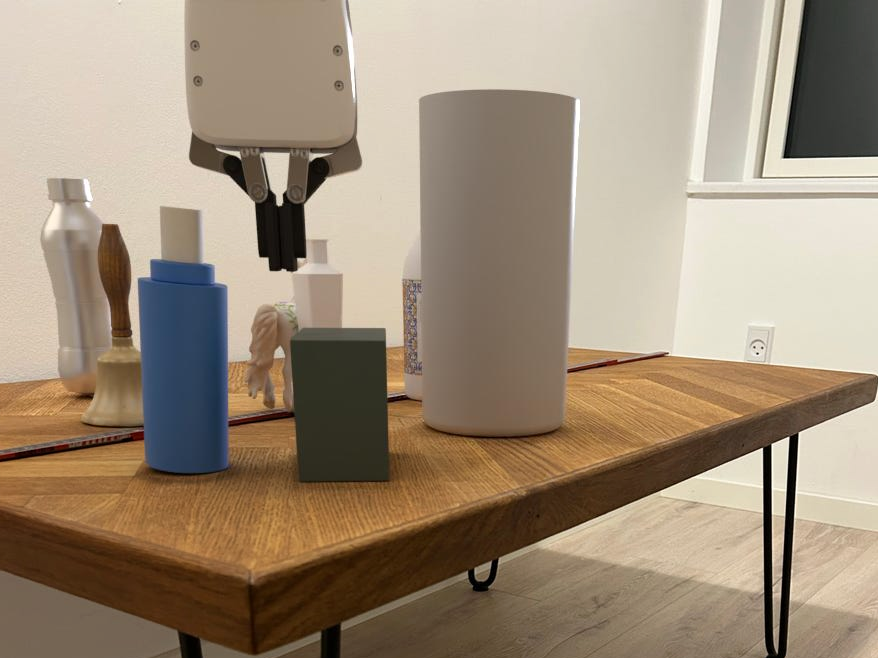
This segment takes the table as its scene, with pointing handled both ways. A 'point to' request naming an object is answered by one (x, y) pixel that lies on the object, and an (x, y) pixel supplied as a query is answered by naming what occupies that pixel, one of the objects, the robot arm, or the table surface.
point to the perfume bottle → (318, 289)
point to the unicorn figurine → (272, 349)
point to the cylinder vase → (496, 258)
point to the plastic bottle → (76, 283)
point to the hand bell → (117, 342)
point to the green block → (340, 404)
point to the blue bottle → (184, 352)
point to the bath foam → (412, 321)
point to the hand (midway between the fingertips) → (283, 270)
